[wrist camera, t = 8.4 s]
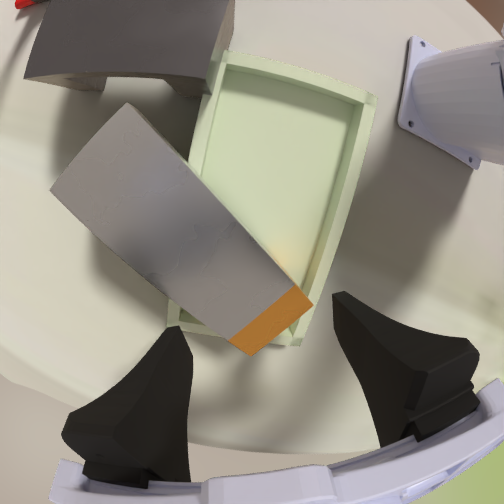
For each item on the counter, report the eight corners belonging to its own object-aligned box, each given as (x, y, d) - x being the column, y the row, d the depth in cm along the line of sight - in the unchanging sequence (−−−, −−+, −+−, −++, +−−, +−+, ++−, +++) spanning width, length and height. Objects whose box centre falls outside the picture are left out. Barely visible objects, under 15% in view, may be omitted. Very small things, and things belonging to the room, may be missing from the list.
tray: (363, 100, 15) (378, 96, 13) (294, 330, 21) (299, 346, 20) (217, 58, 14) (215, 48, 12) (171, 311, 20) (166, 327, 18)
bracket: (233, 30, 13) (235, -18, 7) (214, 100, 15) (205, 78, 9) (98, 25, 12) (54, -6, 6) (79, 90, 13) (23, 79, 8)
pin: (139, 110, 12) (127, 101, 8) (282, 267, 19) (313, 305, 15) (80, 172, 12) (49, 190, 8) (232, 310, 19) (250, 356, 15)
